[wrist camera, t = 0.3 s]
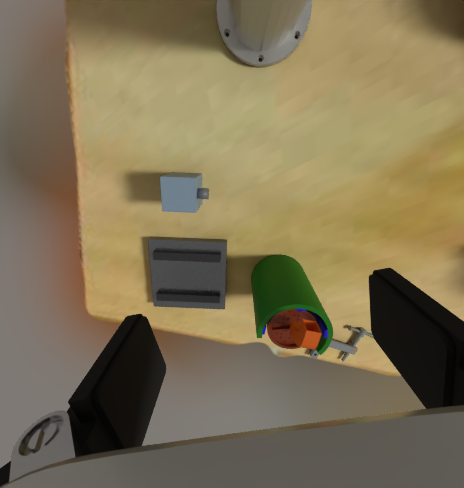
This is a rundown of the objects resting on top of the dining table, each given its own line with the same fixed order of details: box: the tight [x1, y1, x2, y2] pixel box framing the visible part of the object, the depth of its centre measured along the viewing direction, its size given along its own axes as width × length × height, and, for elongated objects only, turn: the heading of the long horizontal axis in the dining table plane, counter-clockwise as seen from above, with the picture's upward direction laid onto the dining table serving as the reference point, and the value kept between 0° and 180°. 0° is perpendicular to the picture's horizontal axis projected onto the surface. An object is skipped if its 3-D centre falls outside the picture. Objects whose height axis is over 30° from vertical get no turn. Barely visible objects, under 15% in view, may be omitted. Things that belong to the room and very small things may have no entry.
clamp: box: [310, 326, 374, 361], centre depth 53 cm, size 15×2×10 cm
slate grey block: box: [160, 173, 209, 213], centre depth 39 cm, size 5×7×7 cm
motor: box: [251, 255, 333, 355], centre depth 39 cm, size 10×9×20 cm
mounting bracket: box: [148, 237, 227, 309], centre depth 47 cm, size 14×14×2 cm
